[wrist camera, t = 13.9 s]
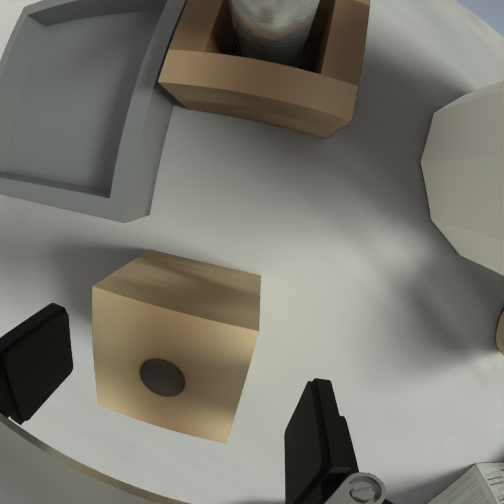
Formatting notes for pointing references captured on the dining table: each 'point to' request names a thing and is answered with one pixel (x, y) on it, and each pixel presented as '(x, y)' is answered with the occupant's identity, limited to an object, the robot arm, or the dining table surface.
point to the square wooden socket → (268, 69)
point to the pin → (273, 28)
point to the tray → (86, 104)
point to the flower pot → (500, 334)
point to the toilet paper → (469, 175)
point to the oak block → (175, 342)
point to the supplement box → (476, 486)
